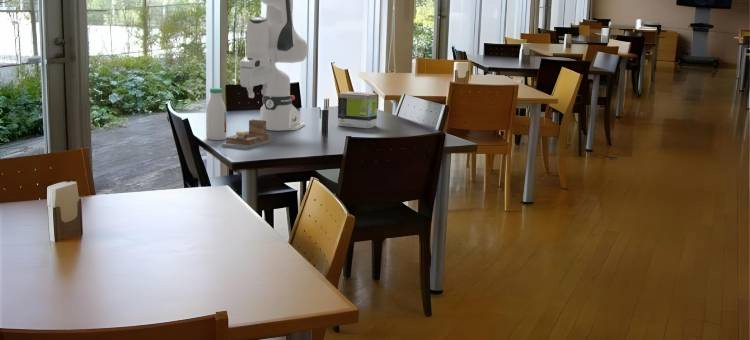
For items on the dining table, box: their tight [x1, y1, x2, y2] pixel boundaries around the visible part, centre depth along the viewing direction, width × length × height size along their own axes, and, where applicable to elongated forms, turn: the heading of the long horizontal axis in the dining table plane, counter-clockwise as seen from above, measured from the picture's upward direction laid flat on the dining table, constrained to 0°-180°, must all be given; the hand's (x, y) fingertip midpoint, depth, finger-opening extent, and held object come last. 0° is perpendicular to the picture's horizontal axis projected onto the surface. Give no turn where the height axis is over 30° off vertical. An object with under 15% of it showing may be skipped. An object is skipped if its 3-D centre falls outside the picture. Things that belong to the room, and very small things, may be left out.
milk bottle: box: [205, 87, 227, 141], centre depth 335 cm, size 8×8×20 cm
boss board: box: [221, 130, 273, 150], centre depth 328 cm, size 20×10×5 cm, turn 157°
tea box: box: [337, 91, 378, 129], centre depth 378 cm, size 15×10×15 cm, turn 65°
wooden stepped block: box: [225, 119, 272, 145], centre depth 328 cm, size 16×10×7 cm, turn 156°
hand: (257, 96), depth 332 cm, fingers open, 8 cm apart
